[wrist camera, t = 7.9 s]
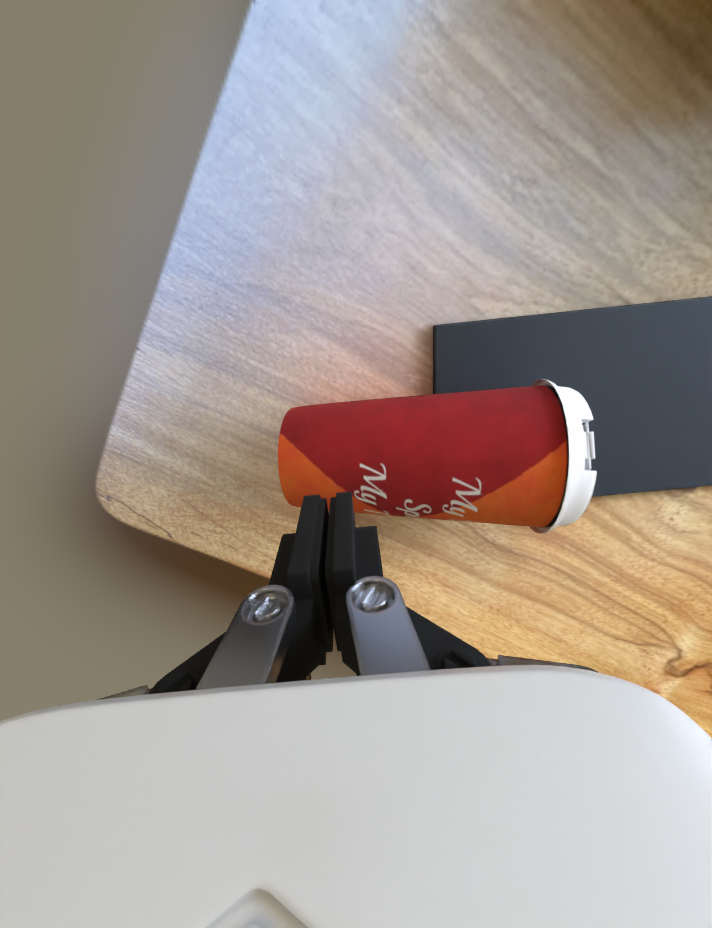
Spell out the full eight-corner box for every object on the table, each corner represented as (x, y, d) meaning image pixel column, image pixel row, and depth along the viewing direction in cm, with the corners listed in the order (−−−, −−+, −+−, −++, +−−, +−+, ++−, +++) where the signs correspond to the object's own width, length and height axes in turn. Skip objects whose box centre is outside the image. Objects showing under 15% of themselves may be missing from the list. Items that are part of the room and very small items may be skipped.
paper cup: (264, 529, 16) (612, 540, 13) (273, 363, 17) (598, 349, 14) (312, 523, 23) (539, 530, 21) (316, 410, 24) (533, 405, 22)
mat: (433, 507, 25) (435, 512, 24) (432, 325, 20) (435, 325, 19) (867, 466, 24) (879, 469, 24) (980, 268, 19) (998, 267, 19)
